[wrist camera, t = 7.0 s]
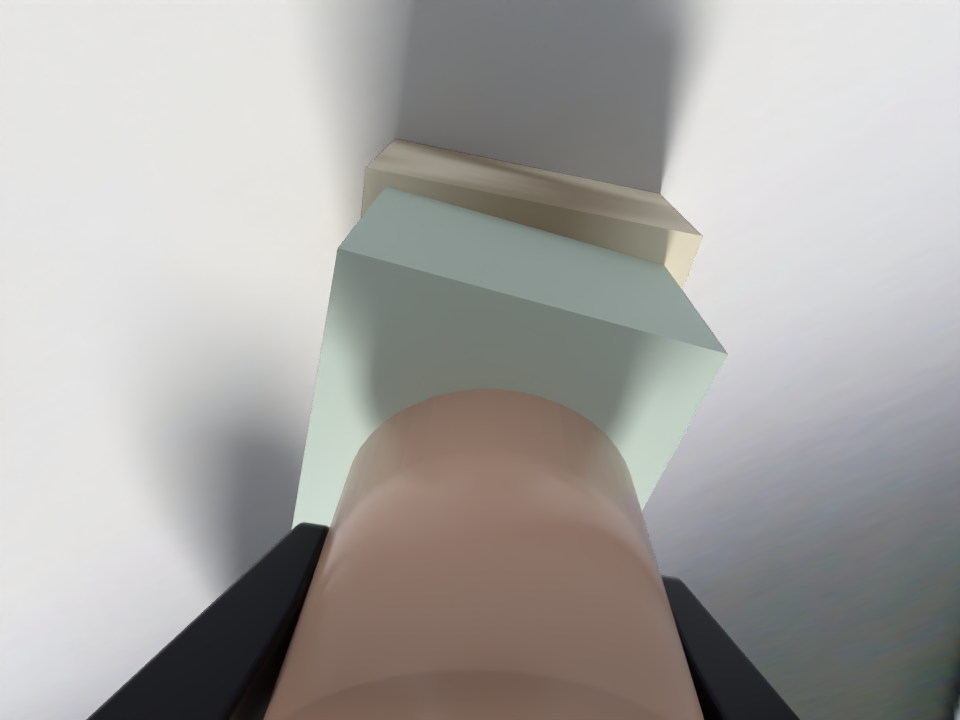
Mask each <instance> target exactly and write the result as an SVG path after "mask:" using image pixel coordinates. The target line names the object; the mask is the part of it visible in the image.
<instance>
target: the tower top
mask: <svg viewBox="0 0 960 720" xmlns="http://www.w3.org/2000/svg"><path fill="white" fill-rule="evenodd" d="M727 355H728V353H727V352H726V351H725V349H724V348H723V346H722V345H721V344H720V342H719V341H718V339H717V338H716V337H715V335H714V334H713V332H712V331H711V330H710V328H709V327H708V325H707V324H706V323H705V321H704V320H703V318H702V317H701V316H700V314H699V313H698V311H697V310H696V309H695V307H694V306H693V304H692V303H691V302H690V300H689V299H688V297H687V296H686V295H685V293H684V292H683V290H682V289H681V288H680V286H679V285H678V283H677V282H676V281H675V279H674V278H673V276H672V275H671V274H670V272H669V271H668V269H667V268H666V267H665V265H662V264H659V263H655V262H652V261H648V260H645V259H641V258H638V257H634V256H631V255H627V254H624V253H620V252H617V251H613V250H610V249H606V248H603V247H599V246H596V245H592V244H589V243H585V242H582V241H578V240H575V239H571V238H568V237H564V236H561V235H557V234H554V233H550V232H547V231H543V230H540V229H536V228H532V227H529V226H525V225H522V224H518V223H515V222H511V221H508V220H504V219H501V218H497V217H494V216H490V215H487V214H483V213H480V212H476V211H473V210H469V209H466V208H462V207H459V206H455V205H452V204H448V203H445V202H441V201H438V200H434V199H431V198H427V197H424V196H420V195H417V194H413V193H410V192H406V191H403V190H399V189H395V188H392V187H388V186H386V187H385V189H384V190H383V191H382V193H381V194H380V195H379V196H378V198H377V199H376V200H375V201H374V203H373V204H372V205H371V207H370V208H369V209H368V210H367V212H366V213H365V214H364V215H363V217H362V218H361V219H360V220H359V222H358V223H357V224H356V226H355V227H354V228H353V229H352V231H351V232H350V233H349V234H348V236H347V237H346V238H345V240H344V241H343V242H342V243H341V245H340V246H339V247H338V250H337V256H336V262H335V268H334V274H333V280H332V286H331V292H330V299H329V305H328V311H327V317H326V323H325V329H324V335H323V341H322V347H321V353H320V360H319V366H318V372H317V378H316V384H315V390H314V396H313V402H312V408H311V414H310V421H309V427H308V433H307V439H306V445H305V451H304V457H303V463H302V469H301V475H300V482H299V488H298V494H297V500H296V506H295V512H294V518H293V524H292V529H293V528H294V527H295V526H296V525H298V524H299V523H302V522H307V523H314V524H321V525H327V526H328V527H329V528H330V525H331V522H332V519H333V516H334V513H335V510H336V507H337V505H338V502H339V499H340V496H341V493H342V490H343V487H344V484H345V481H346V478H347V476H348V473H349V470H350V467H351V464H352V462H353V460H354V458H355V456H356V454H357V453H358V451H359V449H360V447H361V446H362V445H363V443H364V442H365V441H366V440H367V438H368V437H369V436H370V435H371V434H372V433H373V432H374V431H375V430H376V429H377V428H378V427H379V426H380V425H381V424H383V423H384V422H385V421H387V420H388V419H389V418H391V417H392V416H394V415H395V414H397V413H398V412H400V411H402V410H404V409H406V408H408V407H410V406H412V405H413V404H415V403H418V402H421V401H424V400H426V399H429V398H432V397H435V396H439V395H443V394H447V393H452V392H457V391H466V390H474V389H499V390H509V391H518V392H523V393H527V394H532V395H536V396H540V397H543V398H546V399H548V400H551V401H554V402H557V403H559V404H561V405H563V406H566V407H568V408H570V409H572V410H574V411H576V412H577V413H579V414H580V415H582V416H583V417H585V418H586V419H588V420H589V421H591V422H592V423H593V424H595V425H596V426H597V427H598V428H599V429H600V430H601V431H603V432H604V433H605V434H606V435H607V436H608V438H609V439H610V440H611V441H612V442H613V443H614V445H615V446H616V447H617V448H618V450H619V452H620V453H621V455H622V457H623V458H624V460H625V462H626V464H627V467H628V469H629V471H630V474H631V477H632V480H633V483H634V487H635V490H636V493H637V497H638V500H639V503H640V507H641V510H643V508H644V506H645V504H646V502H647V501H648V499H649V497H650V495H651V493H652V492H653V490H654V488H655V486H656V484H657V482H658V481H659V479H660V477H661V475H662V473H663V472H664V470H665V468H666V466H667V464H668V462H669V461H670V459H671V457H672V455H673V453H674V452H675V450H676V448H677V446H678V444H679V443H680V441H681V439H682V437H683V435H684V433H685V432H686V430H687V428H688V426H689V424H690V423H691V421H692V419H693V417H694V415H695V413H696V412H697V410H698V408H699V406H700V404H701V403H702V401H703V399H704V397H705V395H706V393H707V392H708V390H709V388H710V386H711V384H712V383H713V381H714V379H715V377H716V375H717V374H718V372H719V370H720V368H721V366H722V364H723V363H724V361H725V359H726V357H727Z"/></svg>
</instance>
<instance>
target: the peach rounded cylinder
mask: <svg viewBox="0 0 960 720" xmlns="http://www.w3.org/2000/svg"><path fill="white" fill-rule="evenodd" d="M263 720H704V717H703V714H702V710H701V707H700V704H699V700H698V697H697V694H696V690H695V687H694V684H693V680H692V677H691V674H690V670H689V667H688V664H687V660H686V657H685V654H684V650H683V647H682V644H681V640H680V637H679V634H678V630H677V627H676V624H675V620H674V617H673V614H672V610H671V607H670V604H669V600H668V597H667V594H666V590H665V587H664V584H663V580H662V577H661V574H660V570H659V567H658V563H657V560H656V557H655V553H654V550H653V547H652V543H651V540H650V537H649V533H648V530H647V527H646V523H645V520H644V517H643V513H642V510H641V507H640V503H639V500H638V497H637V493H636V490H635V487H634V483H633V480H632V477H631V474H630V471H629V469H628V467H627V464H626V462H625V460H624V458H623V457H622V455H621V453H620V452H619V450H618V448H617V447H616V446H615V445H614V443H613V442H612V441H611V440H610V439H609V438H608V436H607V435H606V434H605V433H604V432H603V431H601V430H600V429H599V428H598V427H597V426H596V425H595V424H593V423H592V422H591V421H589V420H588V419H586V418H585V417H583V416H582V415H580V414H579V413H577V412H576V411H574V410H572V409H570V408H568V407H566V406H563V405H561V404H559V403H557V402H554V401H551V400H548V399H546V398H543V397H540V396H536V395H532V394H527V393H523V392H518V391H509V390H499V389H474V390H466V391H457V392H452V393H447V394H443V395H439V396H435V397H432V398H429V399H426V400H424V401H421V402H418V403H415V404H413V405H412V406H410V407H408V408H406V409H404V410H402V411H400V412H398V413H397V414H395V415H394V416H392V417H391V418H389V419H388V420H387V421H385V422H384V423H383V424H381V425H380V426H379V427H378V428H377V429H376V430H375V431H374V432H373V433H372V434H371V435H370V436H369V437H368V438H367V440H366V441H365V442H364V443H363V445H362V446H361V447H360V449H359V451H358V453H357V454H356V456H355V458H354V460H353V462H352V464H351V467H350V470H349V473H348V476H347V478H346V481H345V484H344V487H343V490H342V493H341V496H340V499H339V502H338V505H337V507H336V510H335V513H334V516H333V519H332V522H331V525H330V528H329V531H328V534H327V537H326V540H325V542H324V545H323V548H322V551H321V554H320V557H319V560H318V563H317V566H316V569H315V571H314V574H313V577H312V580H311V583H310V586H309V589H308V592H307V595H306V597H305V600H304V603H303V606H302V609H301V612H300V615H299V618H298V620H297V623H296V626H295V629H294V632H293V635H292V638H291V641H290V643H289V646H288V649H287V652H286V655H285V658H284V661H283V664H282V666H281V669H280V672H279V675H278V678H277V681H276V684H275V687H274V690H273V692H272V695H271V698H270V701H269V704H268V707H267V710H266V713H265V716H264V718H263Z"/></svg>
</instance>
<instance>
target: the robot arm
mask: <svg viewBox="0 0 960 720" xmlns="http://www.w3.org/2000/svg"><path fill="white" fill-rule="evenodd" d="M328 531H329V527H328V526H327V525H321V524H314V523H307V522H302V523H299V524H298V525H296V526H295V527H294V528H293V529H292V530H291V531H290V532H289V533H288V534H286V535H285V536H284V537H283V538H282V539H281V540H280V541H279V542H278V543H277V544H276V545H275V546H274V547H272V548H271V549H270V550H269V551H268V552H267V553H266V554H265V555H264V556H263V557H262V558H261V559H259V560H258V561H257V562H256V563H255V564H254V565H253V566H252V567H251V568H250V569H249V570H248V571H246V572H245V573H244V574H243V575H242V576H241V577H240V578H239V579H238V580H237V581H236V582H235V583H234V584H232V585H231V586H230V587H229V588H228V589H227V590H226V591H225V592H224V593H223V594H222V595H221V596H219V597H218V598H217V599H216V600H215V601H214V602H213V603H212V604H211V605H210V606H209V607H208V608H206V609H205V610H204V611H203V612H202V613H201V614H200V615H199V616H198V617H197V618H196V619H195V620H193V621H192V622H191V623H190V624H189V625H188V626H187V627H186V628H185V629H184V630H183V631H182V632H181V633H179V634H178V635H177V636H176V637H175V638H174V639H173V640H172V641H171V642H170V643H169V644H168V645H166V646H165V647H164V648H163V649H162V650H161V651H160V652H159V653H158V654H157V655H156V656H155V657H153V658H152V659H151V660H150V661H149V662H148V663H147V664H146V665H145V666H144V667H143V668H142V669H141V670H139V671H138V672H137V673H136V674H135V675H134V676H133V677H132V678H131V679H130V680H129V681H128V682H126V683H125V684H124V685H123V686H122V687H121V688H120V689H119V690H118V691H117V692H116V693H115V694H113V695H112V696H111V697H110V698H109V699H108V700H107V701H106V702H105V703H104V704H103V705H102V706H100V707H99V708H98V709H97V710H96V711H95V712H94V713H93V714H92V715H91V716H90V717H89V718H88V719H86V720H263V718H264V716H265V713H266V710H267V707H268V704H269V701H270V698H271V695H272V692H273V690H274V687H275V684H276V681H277V678H278V675H279V672H280V669H281V666H282V664H283V661H284V658H285V655H286V652H287V649H288V646H289V643H290V641H291V638H292V635H293V632H294V629H295V626H296V623H297V620H298V618H299V615H300V612H301V609H302V606H303V603H304V600H305V597H306V595H307V592H308V589H309V586H310V583H311V580H312V577H313V574H314V571H315V569H316V566H317V563H318V560H319V557H320V554H321V551H322V548H323V545H324V542H325V540H326V537H327V534H328ZM661 577H662V580H663V584H664V587H665V590H666V594H667V597H668V600H669V604H670V607H671V610H672V614H673V617H674V620H675V624H676V627H677V630H678V634H679V637H680V640H681V644H682V647H683V650H684V654H685V657H686V660H687V664H688V667H689V670H690V674H691V677H692V680H693V684H694V687H695V690H696V694H697V697H698V700H699V704H700V707H701V710H702V714H703V717H704V720H800V719H799V718H798V717H797V715H796V714H795V713H794V712H793V711H792V710H791V708H790V707H789V706H788V705H787V704H786V703H785V701H784V700H783V699H782V698H781V697H780V696H779V694H778V693H777V692H776V691H775V690H774V688H773V687H772V686H771V685H770V684H769V683H768V681H767V680H766V679H765V678H764V677H763V676H762V674H761V673H760V672H759V671H758V670H757V668H756V667H755V666H754V665H753V664H752V663H751V661H750V660H749V659H748V658H747V657H746V656H745V654H744V653H743V652H742V651H741V650H740V648H739V647H738V646H737V645H736V644H735V643H734V641H733V640H732V639H731V638H730V637H729V636H728V634H727V633H726V632H725V631H724V630H723V629H722V627H721V626H720V625H719V624H718V623H717V621H716V620H715V619H714V618H713V617H712V616H711V614H710V613H709V612H708V611H707V610H706V609H705V607H704V606H703V605H702V604H701V603H700V601H699V600H698V599H697V598H696V597H695V596H694V594H693V593H692V592H691V591H690V590H689V589H688V587H687V586H686V585H685V584H684V583H683V582H682V581H681V580H680V579H678V578H676V577H671V576H664V575H661Z"/></svg>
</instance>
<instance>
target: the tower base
mask: <svg viewBox="0 0 960 720" xmlns="http://www.w3.org/2000/svg"><path fill="white" fill-rule="evenodd" d="M386 186H388V187H392V188H395V189H399V190H403V191H406V192H410V193H413V194H417V195H420V196H424V197H427V198H431V199H434V200H438V201H441V202H445V203H448V204H452V205H455V206H459V207H462V208H466V209H469V210H473V211H476V212H480V213H483V214H487V215H490V216H494V217H497V218H501V219H504V220H508V221H511V222H515V223H518V224H522V225H525V226H529V227H532V228H536V229H540V230H543V231H547V232H550V233H554V234H557V235H561V236H564V237H568V238H571V239H575V240H578V241H582V242H585V243H589V244H592V245H596V246H599V247H603V248H606V249H610V250H613V251H617V252H620V253H624V254H627V255H631V256H634V257H638V258H641V259H645V260H648V261H652V262H655V263H659V264H662V265H665V267H666V268H667V269H668V271H669V272H670V274H671V275H672V276H673V278H674V279H675V281H676V282H677V283H678V285H679V286H680V288H681V289H683V287H684V284H685V282H686V279H687V276H688V274H689V271H690V269H691V266H692V264H693V261H694V258H695V256H696V253H697V251H698V248H699V245H700V243H701V240H702V238H703V236H702V235H701V234H700V233H699V232H698V231H697V230H696V229H695V228H694V227H693V226H692V225H691V224H690V223H689V222H688V221H687V220H686V219H685V218H684V217H683V216H682V215H681V214H680V213H679V212H678V211H677V210H676V209H675V208H674V207H673V206H672V205H671V204H670V203H669V202H668V201H667V200H666V199H665V198H664V197H663V196H662V195H661V194H658V193H653V192H649V191H644V190H639V189H634V188H629V187H625V186H620V185H615V184H610V183H605V182H601V181H596V180H591V179H586V178H581V177H577V176H572V175H567V174H562V173H557V172H553V171H548V170H543V169H538V168H533V167H529V166H524V165H519V164H514V163H509V162H505V161H500V160H495V159H490V158H485V157H481V156H476V155H471V154H466V153H461V152H457V151H452V150H447V149H442V148H437V147H432V146H428V145H423V144H418V143H413V142H408V141H404V140H399V139H395V140H394V141H393V142H392V143H390V144H389V145H388V146H387V147H386V148H385V149H384V150H383V151H382V152H381V153H380V154H379V155H378V156H377V157H376V158H375V159H374V160H373V161H372V162H371V163H370V164H369V165H368V166H367V167H366V170H365V180H364V191H363V201H362V211H361V218H362V217H363V215H364V214H365V213H366V212H367V210H368V209H369V208H370V207H371V205H372V204H373V203H374V201H375V200H376V199H377V198H378V196H379V195H380V194H381V193H382V191H383V190H384V189H385V187H386Z"/></svg>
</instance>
